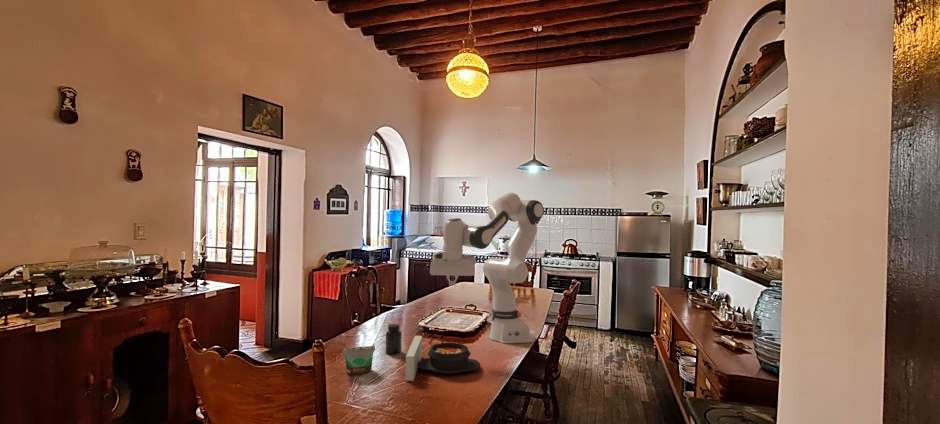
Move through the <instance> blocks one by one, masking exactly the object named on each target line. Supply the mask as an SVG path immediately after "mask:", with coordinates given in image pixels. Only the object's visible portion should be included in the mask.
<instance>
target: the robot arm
mask: <svg viewBox="0 0 940 424" xmlns="http://www.w3.org/2000/svg"><path fill="white" fill-rule="evenodd" d="M544 211H545V209H544V206H543V204H542V202H540V201H539V200H535V199H531V200H529V199H528V200H527V199H523V200H521V198H520V197H519V195H518V194H517V193H515V192H508V193H506V194H503V195H502V196H500V197H498V198H497V199H495V200H494V201H493V202H492V203H491V204H490V205H489V206H488V208H487V215H488V217H489V219H490V221H489V222H487V223H486V224H485V225H479V226H475V225H469V224H467V223H465V222H464V221H463V220H462V218H458V217H457V218H456V217H455V218H449V219H447V220H445V222H444V224H443V232H442V233H443V234H442V237H443V246H442V250H439V251H437V252H434V253H433V255H432V258H433V259H432V260H431V262H430V267H429V274H430V276H446V280H447V282H448V286H455V287H456V283H457V281H458V279H459V276H462V277H463V276H464V277H465V276H466V277H469V276H470V277H473V276H474V275H476V273H475V272H476V270H475V265H476V260H477V259H476V257H475V256H474V255H473V254H463V251H464V249H463V248H464V247H468V248H475V249H479V250H485V249H487V247H488V248H489V246H490V244H491V243H492V241H493V239H494V238H495V237H496V235H497V234H498V233H500V231H501V230H502V229H503V228H504V227H505V226H506V225H507V223H508V222H509V221H511V222H517V227H516V229H515V230H514V231H513V233H512V235H511V236H510V237H509V240H508V242H507V243H506V246H505V248H506V252H507V254H508V256H507V258H499V257H493V258H488V259H486V260H485V261H484V263H483V265H482V272H483V274H484V276H485V277H486V278H487V280H488V282H489V284H490V288H491V292H492V310H491V320H492V321H491V328H490V333H489V334H488V335H489V336H488V337H489V339H490V340H492V341H496V342H499V343H501V344H520V343H521V344H523V343H534V342H535V341H536V337H535V335H534V334H533V333H531V329H530V327H529V324H528V323H526V321H524V320H523V319H521V316H522V313H521V312H520V310H518V309H516V293H515V292H514V290H513V289H512V288H511V286H510V284H520V283H523V282H525V281H526V280H527V278H528V275H529V269H528V267H527V264H526V257H527V255H528V253H529V251H530V249H531V247H532V245H533V243H534V241H535V239H536V236H537V232H538V227H537V225H538V224H539V223H540V221H541V219H543V215H544V213H545V212H544ZM451 276H454V278H455V279H454V280H451V279H450V278H451ZM509 283H510V284H509Z"/></svg>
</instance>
